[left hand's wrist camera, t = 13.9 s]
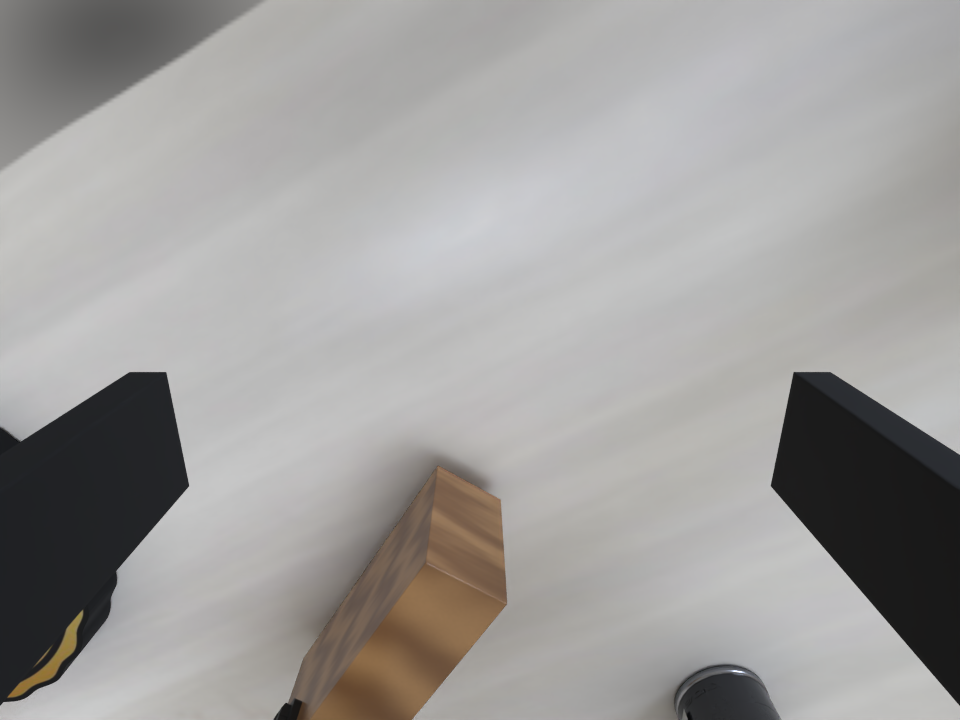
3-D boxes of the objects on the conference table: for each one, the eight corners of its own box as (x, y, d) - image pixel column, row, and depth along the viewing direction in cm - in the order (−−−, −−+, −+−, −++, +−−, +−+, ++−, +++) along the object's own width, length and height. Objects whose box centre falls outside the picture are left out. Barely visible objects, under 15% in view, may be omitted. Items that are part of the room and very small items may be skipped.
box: (437, 465, 47) (425, 562, 36) (501, 499, 48) (507, 604, 37) (303, 658, 55) (258, 788, 43) (361, 684, 56) (331, 817, 45)
